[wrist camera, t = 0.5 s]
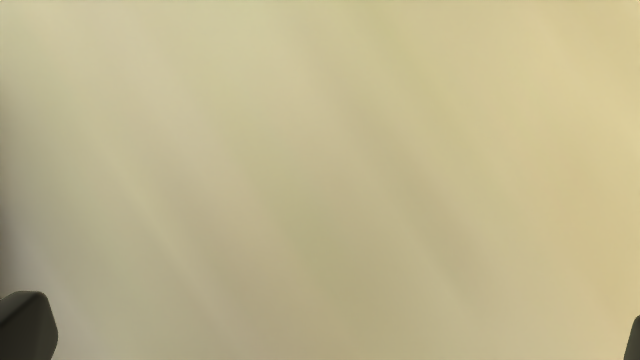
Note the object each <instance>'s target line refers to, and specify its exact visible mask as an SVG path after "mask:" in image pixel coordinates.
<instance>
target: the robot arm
mask: <svg viewBox="0 0 640 360" xmlns="http://www.w3.org/2000/svg"><path fill="white" fill-rule="evenodd" d="M57 342H58V330H57V327H56V323H55V320H54V317H53V314H52V311H51V307H50V304H49V301H48V298H47V297H46V295H45V294H44V293H42V292H36V291H18V292H15V293H13V294H11V295H9V296H7V297H5V298H3V299H1V300H0V360H51V358H52V356H53V354H54V351H55V349H56V346H57ZM624 360H640V315H639V316H637V317H636V319H635V320H634V322H633V325H632V329H631V333H630V336H629V340H628V344H627V347H626V351H625V354H624Z"/></svg>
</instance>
